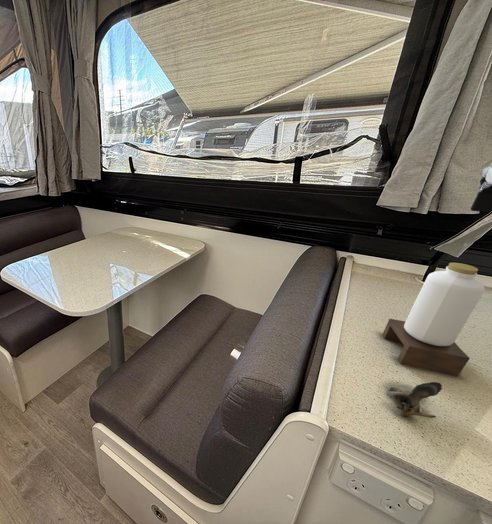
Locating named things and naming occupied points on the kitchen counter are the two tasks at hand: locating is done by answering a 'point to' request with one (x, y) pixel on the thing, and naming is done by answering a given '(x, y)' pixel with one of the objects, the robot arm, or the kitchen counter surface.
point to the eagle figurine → (415, 398)
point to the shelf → (425, 351)
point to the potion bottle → (444, 305)
